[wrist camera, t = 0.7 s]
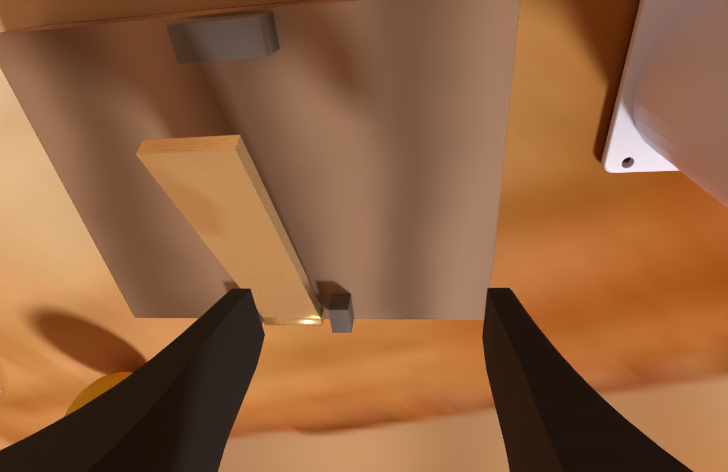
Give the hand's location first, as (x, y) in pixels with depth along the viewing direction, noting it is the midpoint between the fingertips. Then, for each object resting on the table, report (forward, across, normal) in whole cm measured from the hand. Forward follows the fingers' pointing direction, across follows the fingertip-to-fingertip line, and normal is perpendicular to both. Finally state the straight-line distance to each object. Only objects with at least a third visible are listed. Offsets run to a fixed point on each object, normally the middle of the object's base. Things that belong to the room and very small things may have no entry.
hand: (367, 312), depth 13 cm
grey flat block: (+10, +5, 0) cm, 11 cm away
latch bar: (+4, +5, +1) cm, 7 cm away
